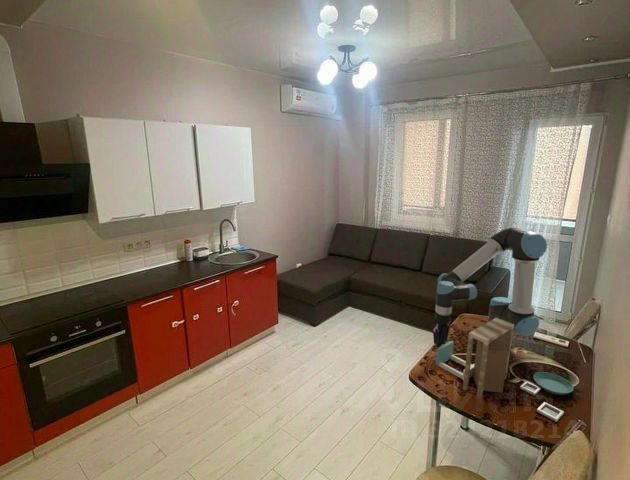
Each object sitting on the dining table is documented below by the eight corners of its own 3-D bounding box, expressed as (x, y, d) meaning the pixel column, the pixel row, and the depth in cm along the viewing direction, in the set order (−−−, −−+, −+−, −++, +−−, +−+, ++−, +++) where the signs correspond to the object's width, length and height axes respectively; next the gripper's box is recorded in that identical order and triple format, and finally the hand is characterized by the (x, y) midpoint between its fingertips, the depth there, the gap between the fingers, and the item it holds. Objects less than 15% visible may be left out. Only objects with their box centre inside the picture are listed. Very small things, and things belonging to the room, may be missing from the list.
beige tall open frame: (489, 369, 165) (496, 317, 158) (506, 378, 158) (514, 324, 152) (462, 388, 151) (468, 332, 145) (480, 398, 145) (487, 340, 138)
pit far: (543, 404, 142) (544, 401, 141) (563, 414, 136) (564, 411, 136) (536, 411, 138) (537, 409, 137) (556, 422, 132) (557, 419, 132)
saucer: (568, 381, 156) (569, 376, 156) (576, 402, 143) (577, 396, 143) (530, 373, 162) (531, 368, 161) (535, 392, 149) (536, 387, 148)
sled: (449, 356, 175) (451, 340, 173) (479, 371, 163) (481, 354, 161) (435, 364, 168) (436, 348, 166) (465, 381, 156) (467, 363, 154)
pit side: (525, 383, 155) (526, 380, 155) (540, 390, 150) (541, 387, 150) (519, 388, 151) (520, 386, 151) (534, 395, 147) (535, 393, 146)
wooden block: (502, 393, 148) (508, 352, 144) (478, 390, 150) (483, 349, 145) (495, 379, 158) (501, 340, 153) (472, 376, 160) (477, 337, 155)
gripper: (444, 306, 174) (440, 347, 180) (428, 313, 167) (424, 356, 172) (457, 311, 168) (453, 354, 174) (441, 319, 161) (437, 363, 166)
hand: (439, 355), depth 173 cm, fingers closed
